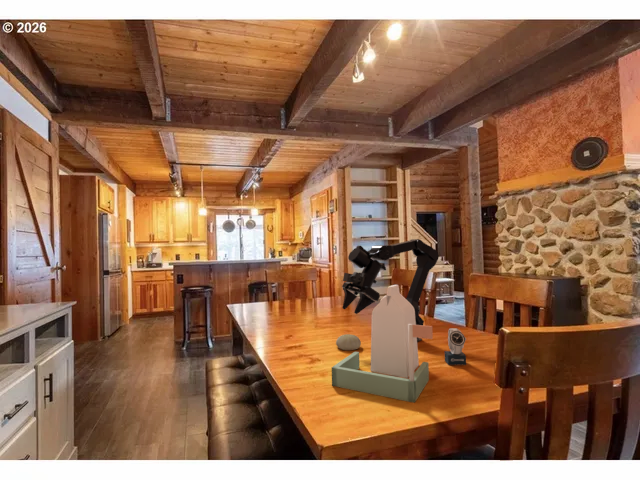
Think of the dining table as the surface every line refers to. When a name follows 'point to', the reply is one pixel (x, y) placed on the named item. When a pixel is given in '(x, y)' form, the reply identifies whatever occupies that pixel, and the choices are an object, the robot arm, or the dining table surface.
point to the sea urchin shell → (348, 342)
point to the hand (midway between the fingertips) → (349, 311)
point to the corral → (385, 385)
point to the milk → (392, 335)
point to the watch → (455, 348)
